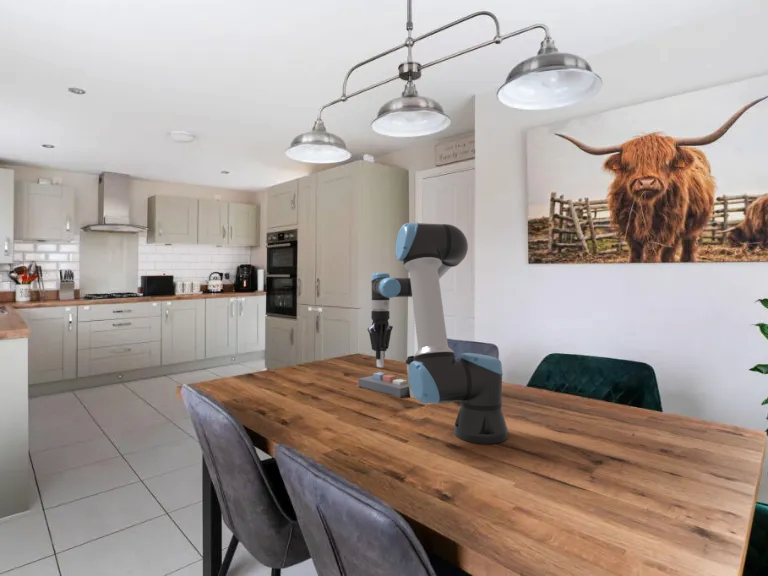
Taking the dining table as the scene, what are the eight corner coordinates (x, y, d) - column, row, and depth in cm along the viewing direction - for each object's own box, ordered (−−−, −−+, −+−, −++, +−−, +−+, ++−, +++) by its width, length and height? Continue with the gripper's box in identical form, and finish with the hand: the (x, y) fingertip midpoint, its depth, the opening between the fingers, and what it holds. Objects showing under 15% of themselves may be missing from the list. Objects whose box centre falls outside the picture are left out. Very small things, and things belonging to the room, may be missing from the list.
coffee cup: (432, 400, 160) (432, 360, 160) (405, 400, 160) (406, 359, 160) (430, 393, 170) (430, 355, 169) (405, 393, 170) (405, 355, 170)
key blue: (380, 381, 177) (380, 375, 177) (373, 379, 179) (373, 373, 179) (386, 379, 180) (386, 373, 179) (379, 378, 182) (380, 372, 182)
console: (400, 397, 163) (400, 388, 163) (358, 387, 179) (358, 378, 179) (421, 391, 172) (421, 382, 172) (380, 381, 188) (380, 373, 188)
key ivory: (400, 388, 169) (400, 382, 169) (392, 386, 172) (392, 380, 172) (406, 386, 172) (406, 380, 172) (399, 384, 175) (399, 378, 175)
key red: (389, 383, 173) (389, 377, 173) (382, 381, 176) (382, 375, 176) (396, 381, 176) (396, 375, 176) (389, 380, 178) (389, 374, 178)
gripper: (375, 311, 171) (375, 370, 172) (397, 309, 181) (397, 365, 182) (362, 310, 177) (362, 367, 177) (384, 308, 186) (384, 363, 187)
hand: (380, 366), depth 179 cm, fingers closed
